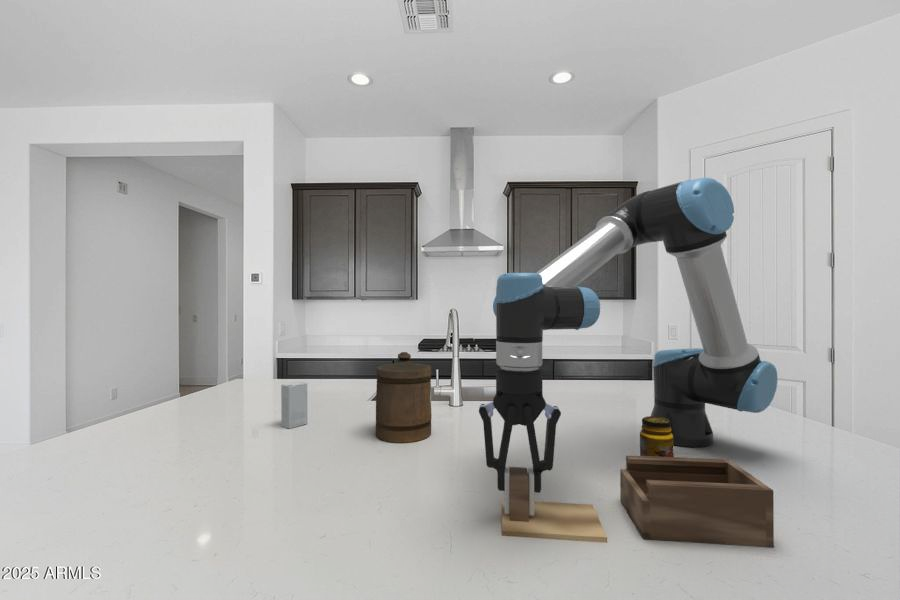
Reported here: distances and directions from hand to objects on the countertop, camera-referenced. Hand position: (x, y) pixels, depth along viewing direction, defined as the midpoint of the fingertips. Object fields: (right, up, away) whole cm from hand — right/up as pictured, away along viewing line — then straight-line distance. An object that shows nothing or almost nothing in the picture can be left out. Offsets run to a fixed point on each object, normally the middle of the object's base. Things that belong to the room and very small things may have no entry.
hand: (518, 510), depth 69 cm
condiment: (+29, -2, +16) cm, 33 cm away
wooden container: (-24, -2, +44) cm, 50 cm away
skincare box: (-56, -2, +52) cm, 77 cm away
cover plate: (+5, -2, -1) cm, 5 cm away
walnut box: (+27, -1, -1) cm, 27 cm away
